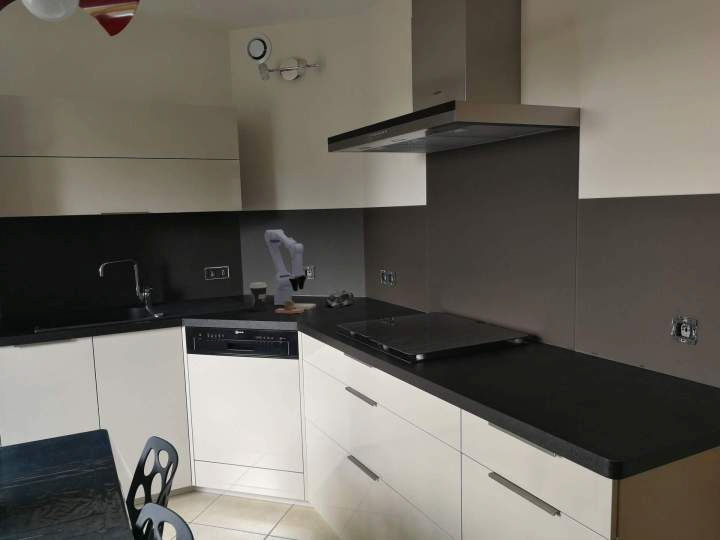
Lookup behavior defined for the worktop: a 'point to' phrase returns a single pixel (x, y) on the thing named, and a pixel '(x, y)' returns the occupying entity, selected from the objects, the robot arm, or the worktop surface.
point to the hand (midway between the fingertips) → (298, 290)
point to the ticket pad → (303, 306)
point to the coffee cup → (258, 296)
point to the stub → (289, 308)
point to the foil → (339, 299)
